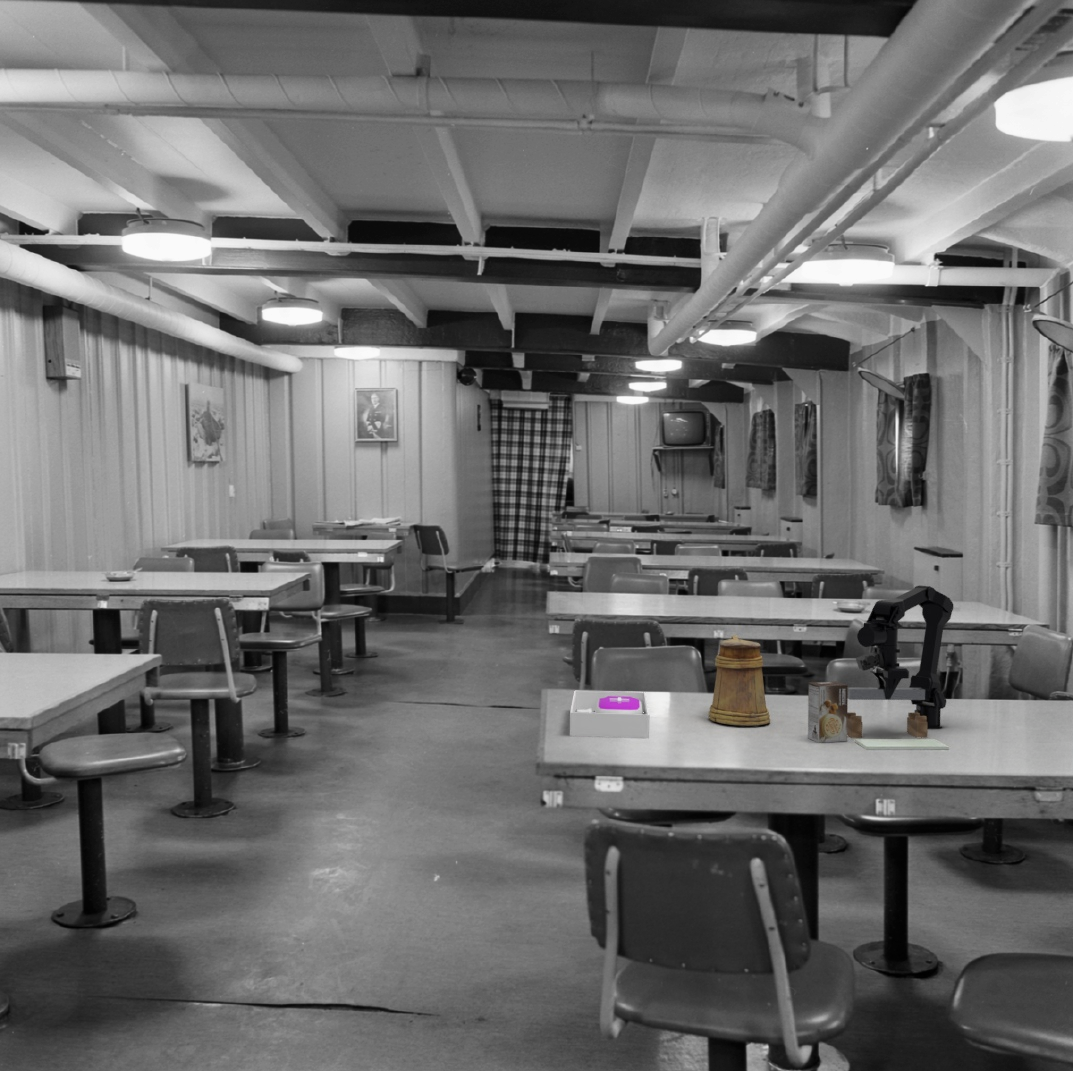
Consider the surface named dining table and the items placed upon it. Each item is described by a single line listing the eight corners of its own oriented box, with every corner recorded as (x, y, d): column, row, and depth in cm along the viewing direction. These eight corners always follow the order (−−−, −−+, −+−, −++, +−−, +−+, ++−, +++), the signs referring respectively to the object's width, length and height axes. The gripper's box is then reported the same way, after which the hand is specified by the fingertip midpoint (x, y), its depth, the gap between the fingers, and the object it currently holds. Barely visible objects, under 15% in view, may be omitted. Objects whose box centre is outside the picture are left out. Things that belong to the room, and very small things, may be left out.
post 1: (853, 732, 306) (853, 711, 306) (862, 737, 299) (862, 716, 299) (843, 732, 306) (843, 711, 305) (851, 737, 299) (852, 716, 298)
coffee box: (835, 736, 300) (836, 680, 299) (847, 741, 294) (849, 684, 293) (806, 738, 298) (808, 682, 297) (818, 743, 291) (819, 685, 291)
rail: (920, 697, 304) (920, 687, 304) (924, 699, 301) (925, 689, 301) (846, 697, 303) (846, 687, 303) (850, 699, 300) (850, 689, 300)
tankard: (716, 727, 309) (718, 643, 309) (700, 711, 333) (702, 633, 332) (776, 728, 310) (778, 644, 309) (756, 712, 334) (758, 634, 333)
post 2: (916, 732, 307) (917, 712, 307) (927, 737, 300) (927, 717, 300) (906, 732, 307) (907, 712, 306) (916, 737, 300) (917, 717, 299)
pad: (934, 741, 295) (934, 739, 295) (948, 749, 286) (949, 746, 286) (854, 741, 294) (854, 738, 294) (866, 749, 285) (866, 746, 285)
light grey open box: (569, 737, 296) (570, 711, 296) (574, 712, 331) (574, 689, 331) (649, 739, 295) (649, 714, 294) (645, 714, 330) (645, 691, 329)
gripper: (848, 640, 311) (846, 692, 311) (871, 648, 292) (870, 704, 293) (884, 640, 311) (883, 692, 312) (910, 649, 293) (909, 704, 293)
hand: (885, 698), depth 302 cm, fingers closed on rail, 3 cm apart
